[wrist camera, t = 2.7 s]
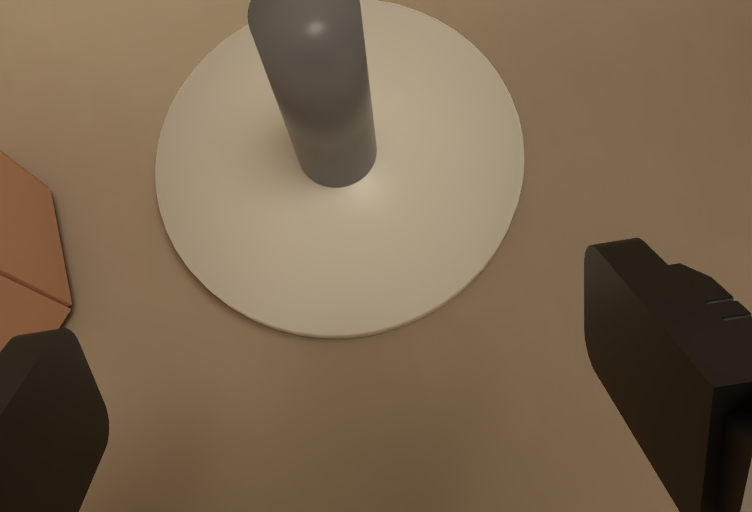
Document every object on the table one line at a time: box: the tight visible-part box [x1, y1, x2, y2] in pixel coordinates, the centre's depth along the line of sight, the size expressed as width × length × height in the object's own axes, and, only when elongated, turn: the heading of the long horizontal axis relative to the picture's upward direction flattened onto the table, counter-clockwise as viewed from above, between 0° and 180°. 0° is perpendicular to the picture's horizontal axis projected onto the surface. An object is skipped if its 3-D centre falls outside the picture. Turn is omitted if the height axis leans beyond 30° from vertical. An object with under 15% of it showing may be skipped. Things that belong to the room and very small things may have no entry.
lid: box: [155, 0, 525, 339], centre depth 22 cm, size 14×14×9 cm
